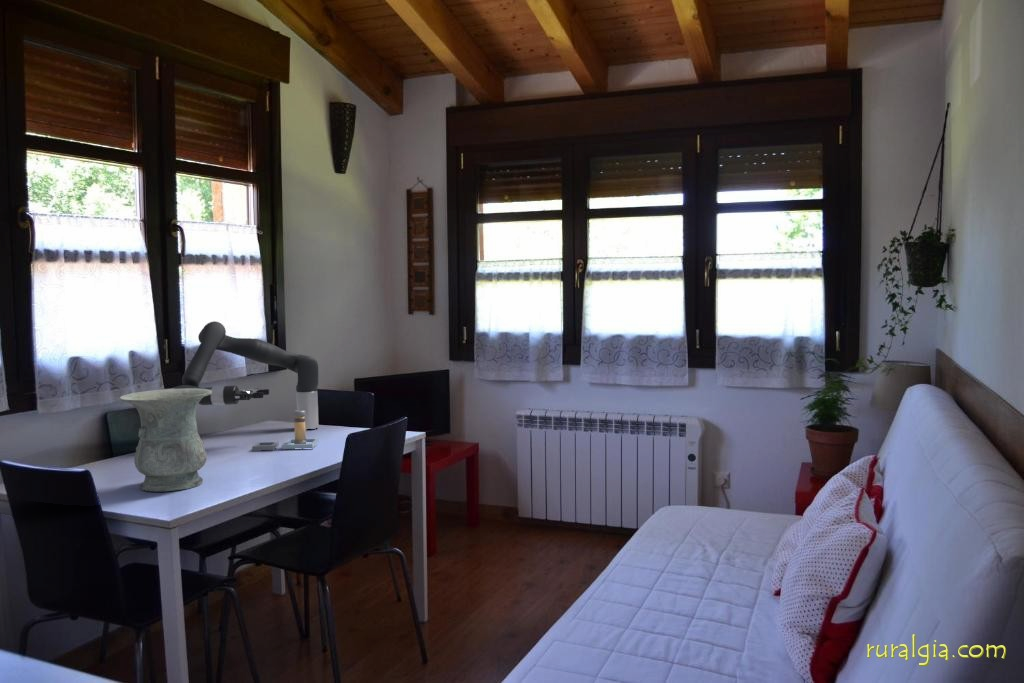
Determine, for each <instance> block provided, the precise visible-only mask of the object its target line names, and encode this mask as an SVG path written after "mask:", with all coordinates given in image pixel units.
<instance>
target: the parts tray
mask: <svg viewBox="0 0 1024 683" xmlns="http://www.w3.org/2000/svg"><path fill="white" fill-rule="evenodd" d="M294 441H295V438H289V439H287V440H286V441H285V442H283V443H282V444H281V450H282V449H295V448H313V447H314V446H315V445H316V444H317V443H318V442H319V443H320V438H319V437H318V438H306V442H312V443H311V444H291V443H294Z"/></svg>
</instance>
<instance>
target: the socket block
mask: <svg viewBox="0 0 1024 683" xmlns="http://www.w3.org/2000/svg"><path fill="white" fill-rule="evenodd" d="M278 446H279V441H258V442H257V443H254V445H252V447H251V448H252V450H251V451H252V452H262V451H261V450H274V449H275V448H276V447H278ZM279 447H280V446H279ZM279 447H278V448H279ZM276 449H277V448H276ZM276 449H275V450H276ZM275 450H274V451H275Z"/></svg>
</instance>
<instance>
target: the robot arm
mask: <svg viewBox="0 0 1024 683" xmlns="http://www.w3.org/2000/svg"><path fill="white" fill-rule="evenodd" d="M226 333H227V332H226V328H225V325H224V324H222V323H221V322H219V321H215V320H214V321H210V322H207V323H206V324H205V325H204V326H203V328H202V329H201V331H200V332H199V333H198V341H199V343H200V344H199V346H198V348H197V350H196V352H195V353H194V355H193V357H192V358H191V360H190V361H189V363H188V365H187V367H186V369H185V371H184V374H183V376H182V378H181V382H182V385H181V384H180V385H178V386H176V387H174V388H173V389H184V388H199V389H209V390H211V391H212V393H211V394H210V395H207V396H205V397H203V398H202V399H201V400H200V402H199V403H198V405H201V406H214V405H215V406H216V405H217V406H225V405H226V406H227V405H228V406H229V405H238V404H239V401H250V400H254V399H264V396H268V395H270V389H268V388H267V389H265V388H264V389H263V388H262V389H260V388H242V389H240V388H239V386H237V385H222V386H221V385H220V386H219V385H218V386H213V387H212V386H210V387H201V386H200V384H201V381H202V379H203V377H204V376H205V372H206V371H207V368H208V366H209V364H210V361H211V359H212V357H213V355H214V352H216V350H217V351H221V352H226V353H230V354H234V355H236V356H239V357H241V358H246V359H250V360H252V361H253V362H254V361H255V362H257V363H262V364H264V365H270V366H277V367H282V368H284V369H287V370H290V371H291V372H294V373H296V374H297V383H296V386H295V388H296V389H295V391H296V393H295V395H296V410H305V415H306V416H305V429H308V428H314V427H317V426H318V427H319V400H318V398H319V396H318V386H319V364H318V361H317V360H316V359H315V357H313V356H310V355H306V354H301V353H300V354H299V353H294V352H290V351H287V350H285V349H282V348H280V347H278V345H274V344H272V343H269V342H267V341H264V340H261V339H258V338H251V337H250V338H249V337H248V338H247V337H246V338H244V337H243V338H242V337H233V336H229V335H227V334H226ZM239 389H240V390H239Z"/></svg>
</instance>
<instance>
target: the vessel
mask: <svg viewBox="0 0 1024 683" xmlns="http://www.w3.org/2000/svg"><path fill="white" fill-rule="evenodd" d="M211 393H212V391H211V390H209V389H199V388H184V389H174V388H165V389H154V390H153V389H151V390H147V391H146V390H145V391H138V392H132V393H131V392H130V393H127V394H124V395H122V396H120V397H119V400H120V401H121V402H125V403H129V404H131V405H132V406H133V407H135V409H136V410H137V412H138V416H139V419H140V426H141V427H140V428H139V429H138V438H139V440H138V443H137V446H136V447H135V454H134V461H133V462H134V466H135V469H136V470H137V471H138V472H139V473H140V474H142V475H144V476H145V477H144V480H143V482H141V483H140V485H139V486H140V489H141V490H142V489H143V490H142V491H144V490H145V492H157V493H160V492H174V491H181V490H187V489H192V488H195V487H198V486H201V485H202V484H203V477H201V476H200V475H199V473H198V471H200V470H201V469H202V468H203V467H204V466H205V464H206V462H207V451H206V448H205V446H204V444H205V443H204V442H205V441H203V440H202V438H201V436H200V434H199V433H198V423H197V419H196V418H197V408H198V405H199V402H200V400H201V399H202V398H203V397H205V396H207V395H210V394H211Z"/></svg>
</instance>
